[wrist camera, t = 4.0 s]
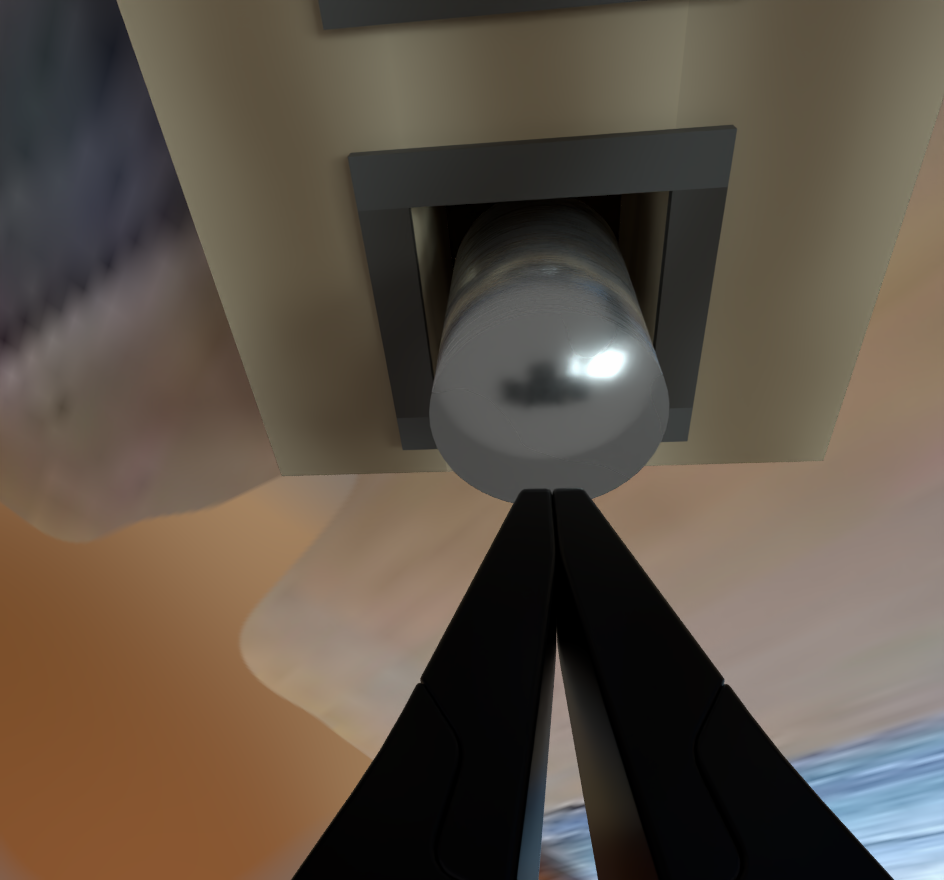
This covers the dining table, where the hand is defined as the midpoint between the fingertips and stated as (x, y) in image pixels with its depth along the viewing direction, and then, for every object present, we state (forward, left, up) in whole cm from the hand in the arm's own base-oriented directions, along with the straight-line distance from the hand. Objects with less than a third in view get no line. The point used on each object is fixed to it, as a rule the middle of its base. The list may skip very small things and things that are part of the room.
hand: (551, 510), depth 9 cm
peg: (0, 0, -8) cm, 8 cm away
